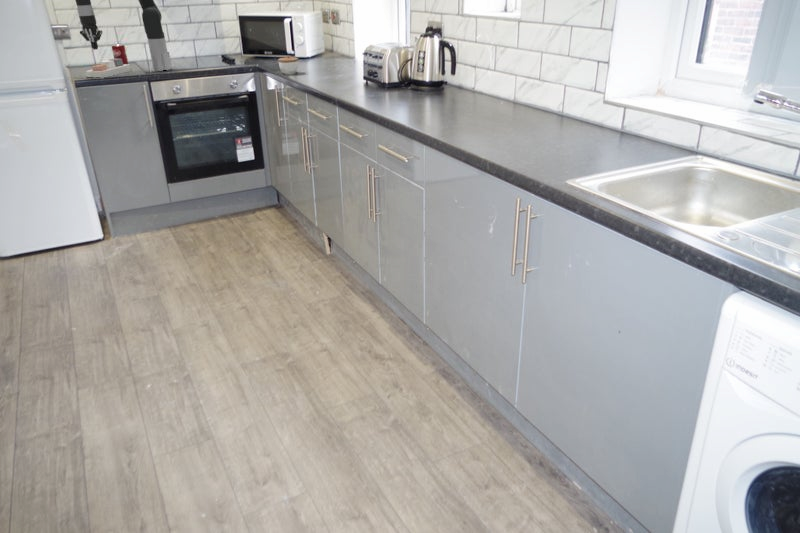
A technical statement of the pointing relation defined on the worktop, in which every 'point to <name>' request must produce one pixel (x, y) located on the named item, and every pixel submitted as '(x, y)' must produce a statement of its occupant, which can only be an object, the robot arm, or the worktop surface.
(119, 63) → the charcoal key
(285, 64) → the lidded jar
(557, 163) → the worktop surface
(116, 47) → the soda can
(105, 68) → the terracotta key
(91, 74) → the keypad housing
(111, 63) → the ivory key
